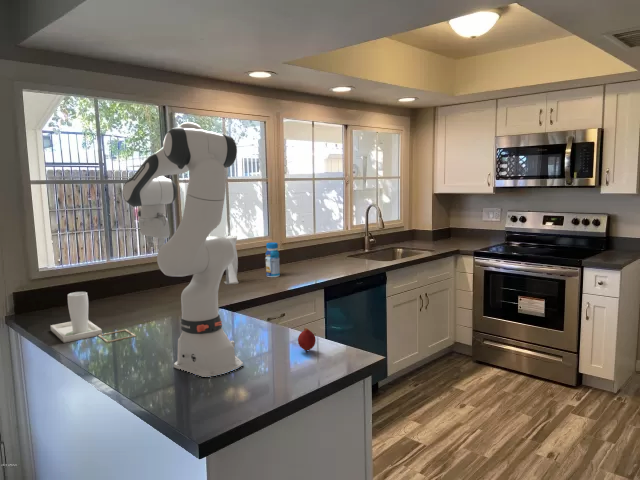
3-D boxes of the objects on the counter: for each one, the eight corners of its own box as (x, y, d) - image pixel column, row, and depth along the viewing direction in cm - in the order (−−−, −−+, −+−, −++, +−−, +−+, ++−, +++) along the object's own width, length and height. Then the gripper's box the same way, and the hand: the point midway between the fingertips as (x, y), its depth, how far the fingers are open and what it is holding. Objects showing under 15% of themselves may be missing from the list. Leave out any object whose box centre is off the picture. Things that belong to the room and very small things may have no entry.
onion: (306, 346, 160) (305, 323, 159) (319, 350, 157) (318, 327, 156) (294, 351, 156) (294, 328, 155) (307, 355, 152) (307, 331, 151)
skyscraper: (222, 281, 269) (220, 233, 266) (236, 280, 273) (234, 232, 269) (226, 284, 262) (224, 234, 258) (240, 283, 265) (238, 233, 262)
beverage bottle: (277, 277, 278) (276, 244, 276) (264, 277, 280) (262, 243, 277) (281, 274, 286) (280, 242, 284) (268, 274, 288) (267, 242, 286)
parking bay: (136, 336, 175) (135, 335, 175) (107, 342, 168) (107, 341, 168) (126, 330, 182) (126, 329, 182) (98, 336, 176) (98, 335, 176)
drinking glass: (68, 336, 174) (64, 296, 172) (73, 330, 181) (70, 292, 179) (88, 334, 176) (85, 295, 174) (92, 329, 182) (89, 291, 180)
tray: (102, 334, 177) (101, 329, 177) (63, 342, 169) (63, 337, 169) (86, 323, 192) (86, 318, 192) (50, 330, 184) (50, 325, 184)
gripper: (173, 213, 176) (175, 249, 178) (151, 211, 191) (153, 245, 193) (156, 214, 172) (158, 251, 173) (135, 212, 187) (138, 246, 189)
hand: (155, 248), depth 183 cm, fingers open, 8 cm apart
